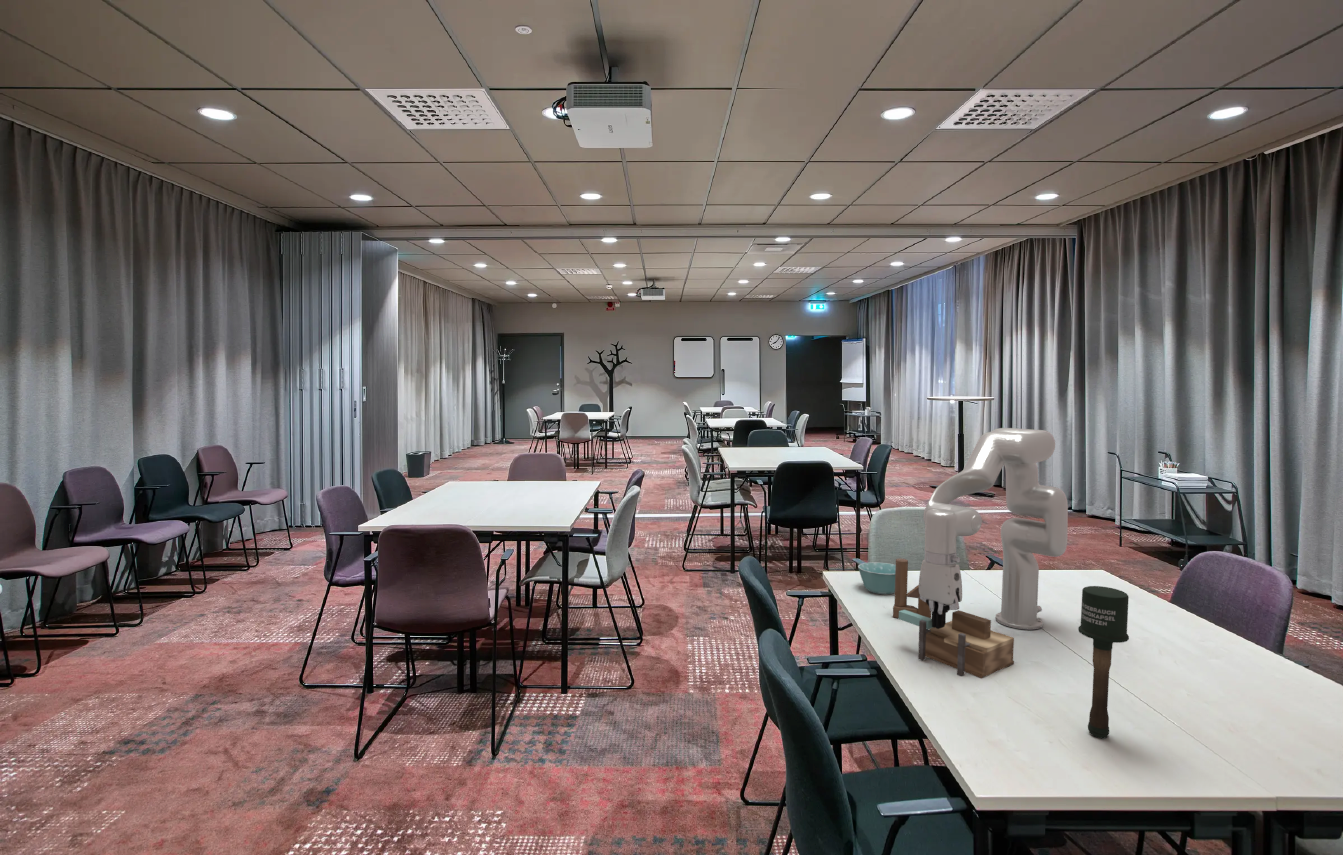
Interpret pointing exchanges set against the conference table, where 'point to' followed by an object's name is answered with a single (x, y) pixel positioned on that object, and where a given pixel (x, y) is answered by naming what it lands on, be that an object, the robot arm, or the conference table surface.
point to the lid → (972, 632)
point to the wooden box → (963, 654)
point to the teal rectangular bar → (914, 618)
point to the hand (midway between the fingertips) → (938, 626)
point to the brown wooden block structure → (902, 594)
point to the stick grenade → (1102, 645)
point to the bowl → (878, 577)
